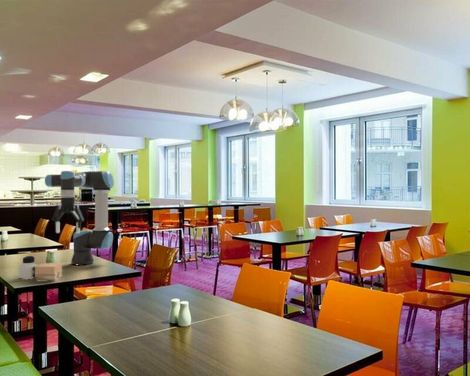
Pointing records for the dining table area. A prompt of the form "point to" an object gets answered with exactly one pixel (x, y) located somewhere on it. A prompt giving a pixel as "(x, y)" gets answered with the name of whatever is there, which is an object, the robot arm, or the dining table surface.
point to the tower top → (48, 268)
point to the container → (27, 267)
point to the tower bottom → (48, 276)
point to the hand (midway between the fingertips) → (68, 233)
